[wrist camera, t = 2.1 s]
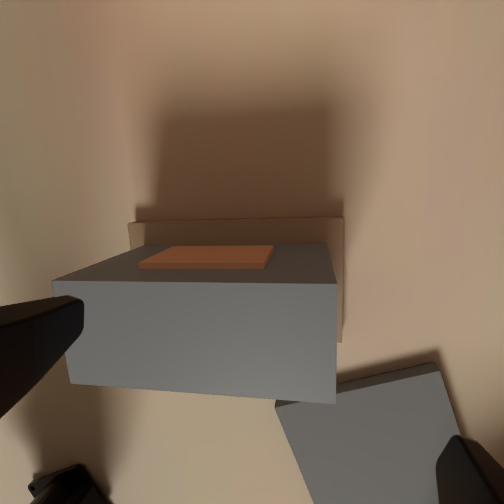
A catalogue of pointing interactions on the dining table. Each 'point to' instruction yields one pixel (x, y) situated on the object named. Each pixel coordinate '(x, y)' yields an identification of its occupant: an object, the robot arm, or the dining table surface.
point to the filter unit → (215, 309)
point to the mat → (373, 438)
